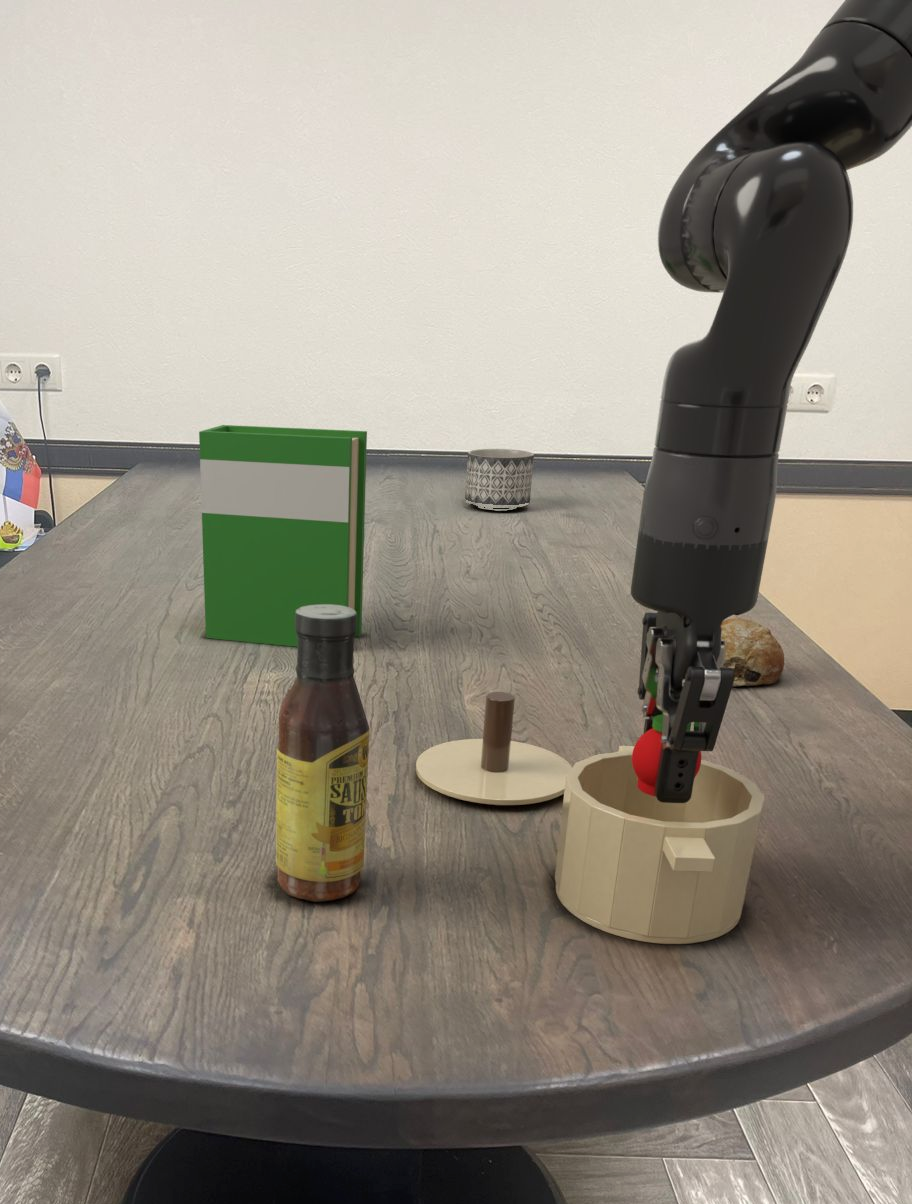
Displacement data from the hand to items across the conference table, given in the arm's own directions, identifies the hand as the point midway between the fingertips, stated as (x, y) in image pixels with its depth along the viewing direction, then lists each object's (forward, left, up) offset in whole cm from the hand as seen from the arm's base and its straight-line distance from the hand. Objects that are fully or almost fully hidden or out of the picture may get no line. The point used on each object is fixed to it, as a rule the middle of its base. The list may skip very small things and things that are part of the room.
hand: (663, 784), depth 74 cm
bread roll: (-20, -52, -9) cm, 56 cm away
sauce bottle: (+23, 0, -9) cm, 25 cm away
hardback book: (+31, -62, -9) cm, 70 cm away
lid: (+9, -20, -8) cm, 23 cm away
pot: (0, 0, -9) cm, 9 cm away
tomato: (0, 0, 0) cm, 0 cm away
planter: (-3, -155, -9) cm, 155 cm away
